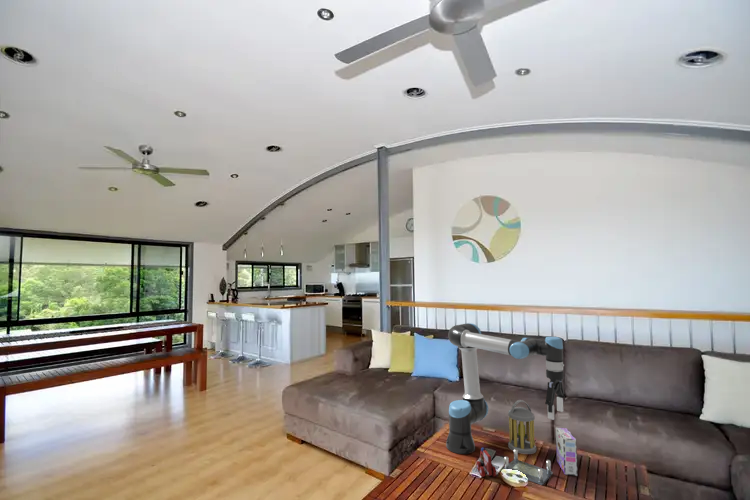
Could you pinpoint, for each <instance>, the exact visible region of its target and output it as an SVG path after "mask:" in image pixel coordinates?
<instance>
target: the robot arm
mask: <svg viewBox="0 0 750 500" xmlns="http://www.w3.org/2000/svg"><path fill="white" fill-rule="evenodd" d="M447 336H448V339H449V342H450V343H451V344H452V345H453V346H456V347H458V349H459V350H460V351H461V360H462V361H461V362H462V374H463V375H462V376H463V384H464V386H463V387H464V393H463V395H462V399H457V400H453V401H452V402H450V404H449V406H448V407H449V408H448V421H449V422H448V425H449V426H448V427H449V429H448V430H449V431H448V435H447V438H446V442H445V447H446V449H447V450H448V451H450V452H452V453H454V454H459V455H468V454H471V453H474V452H475V451H476V444H475V440H474V438H473V434H472V425H473V424H475V423H477V422H480V421H483V419H485V418H486V417H487V416H488V413H489V404H488V402H487V401H486V399H485V398H484V395H483V394H482V393H481V386H480V376H479V366H478V365H479V363H478V352H477V350H479V349H481V350H484V351H489V352H493V353H497V354H498V353H499V354H503V355H506V356H507V355H508V356H511V357H513V358H514V359H515V360H516V359H517V360H520V359H521V360H522V359H526V358H527V357H531V356H534V355H537V356H543V357H545V368H546V371H545V376H546V378H548V379H549V381H548V382H547V388H546V389H547V390H546V397H545V405H547V408H546V409H547V419H548V420H552V421H555V405H554V402H555V398H556V411H558V412H561V413H563V412H564V399H565V398H566V396H565V390H564V385H563V380H564V378H565V377H564V367H565V364H564V346H563V345H564V344H563V339H562V338H561V337H557V336H546V337H545V339H537V338H533V337H522V339H521V340H520V341H519V340H514V339H510V338H504V337H499V336H493V335H487V334H482V331H481V329H480V328H479V326H478V325H476V324H474V323H472V322H471V323H470V322H467V323H462V324H457V325H453V326H452V327H451V328H450V329H449V330H448V334H447Z"/></svg>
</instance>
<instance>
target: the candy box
mask: <svg viewBox="0 0 750 500" xmlns="http://www.w3.org/2000/svg"><path fill="white" fill-rule="evenodd" d="M554 430H555V448H556V451H555V452H556V462H557V464H558V465H559V467H560V468H561V471H562V472H563V474H564V475H567V476H574V477H575V476H576V477H578V458H577V457H578V455H577V454H578V452H577V450H578V449H577V439H576V437H575V436H574V435H573V434H572V432H571V431H570V430H569V428H566V427H555V429H554Z"/></svg>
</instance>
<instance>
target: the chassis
mask: <svg viewBox="0 0 750 500" xmlns="http://www.w3.org/2000/svg"><path fill="white" fill-rule="evenodd" d="M551 462H552V461H551V460H550V459H546V469H545V468H542V467H540V466H537V465H533V464H531V463H528V462H525V461H522V460H519V453H518V450H517V449H514V451H513V460H511V461H509V456H504V467H503V468H502V470H503V469H512V470H518V471H520V472H522V473H523V474H525V475H526V477H527V478H528V480H527V481H530V482H531V483H535V484H538V485H540V486H543V485H545V484H546V482H547V481H548V480H549V479H550V478H551V477H552V476H553V473H554V472H553V471H552V463H551Z"/></svg>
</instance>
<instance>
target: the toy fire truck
mask: <svg viewBox="0 0 750 500" xmlns="http://www.w3.org/2000/svg"><path fill="white" fill-rule="evenodd" d="M479 453H480V454H479V461H478V460H477V461H476V464H475V465H476V470H477V469H478V470H477V471H478V472H479V475H480V477H482V478H483V477H485V476H486V475H487V476H489V477H490V476H492V477H496V476H497V473H498V472H497V468H496V467H495V466H493V462H492V456H491V455H490V454H489V452H488V450H486V448H485V447H481V448H480V452H479Z"/></svg>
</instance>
